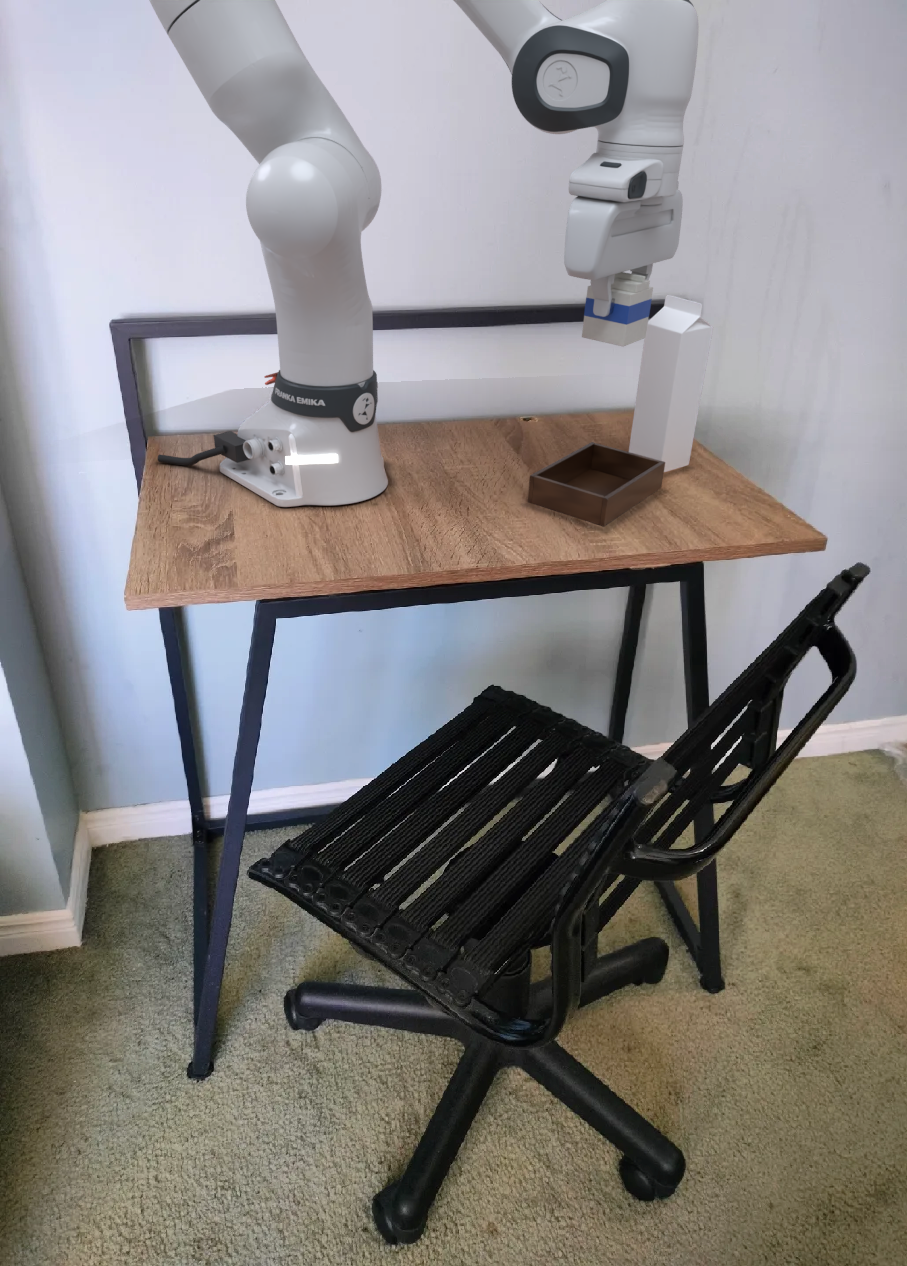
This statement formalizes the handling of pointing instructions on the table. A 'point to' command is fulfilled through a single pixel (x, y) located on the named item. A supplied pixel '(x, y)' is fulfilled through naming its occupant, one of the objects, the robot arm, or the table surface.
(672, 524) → the table surface
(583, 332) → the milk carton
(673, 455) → the milk
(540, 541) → the table surface
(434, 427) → the table surface
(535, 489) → the box
